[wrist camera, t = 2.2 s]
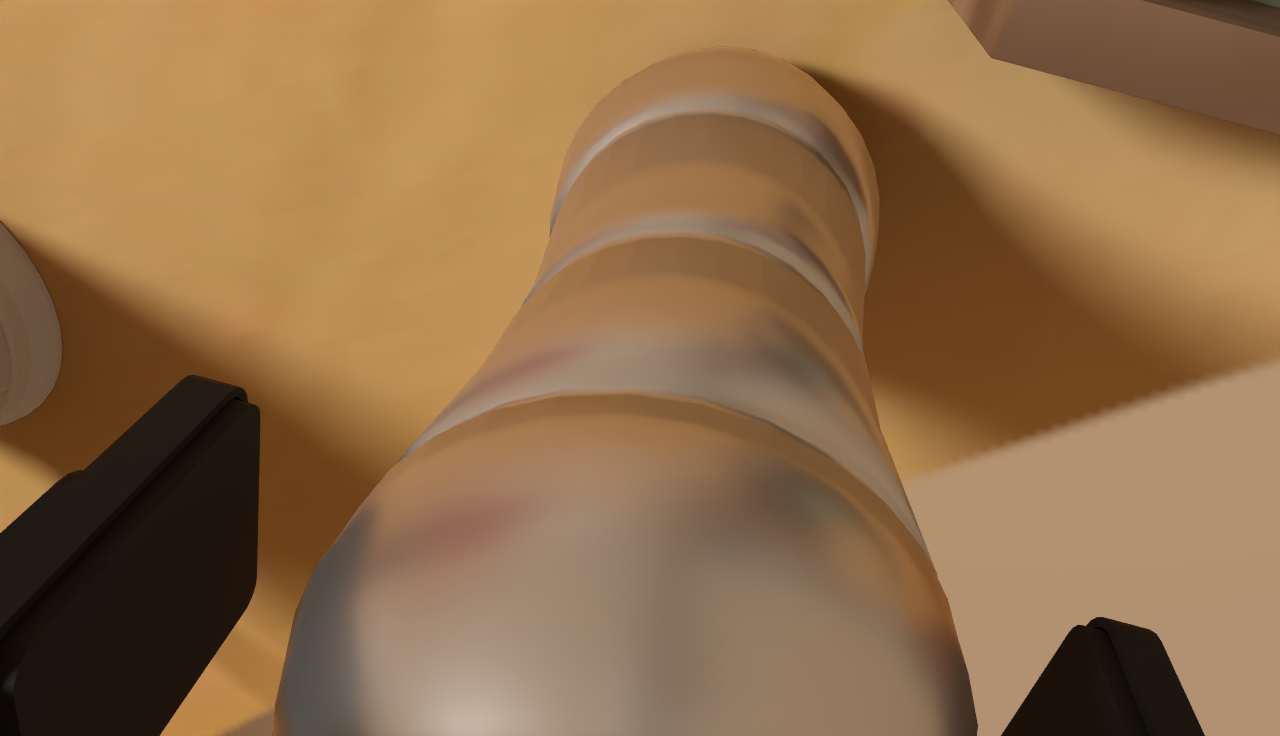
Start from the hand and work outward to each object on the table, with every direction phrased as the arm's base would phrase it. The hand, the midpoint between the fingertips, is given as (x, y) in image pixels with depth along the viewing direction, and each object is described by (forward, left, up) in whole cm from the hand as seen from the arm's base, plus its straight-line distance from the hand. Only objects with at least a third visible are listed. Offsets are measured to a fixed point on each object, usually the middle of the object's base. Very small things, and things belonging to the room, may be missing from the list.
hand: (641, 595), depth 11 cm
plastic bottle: (0, 0, -13) cm, 13 cm away
